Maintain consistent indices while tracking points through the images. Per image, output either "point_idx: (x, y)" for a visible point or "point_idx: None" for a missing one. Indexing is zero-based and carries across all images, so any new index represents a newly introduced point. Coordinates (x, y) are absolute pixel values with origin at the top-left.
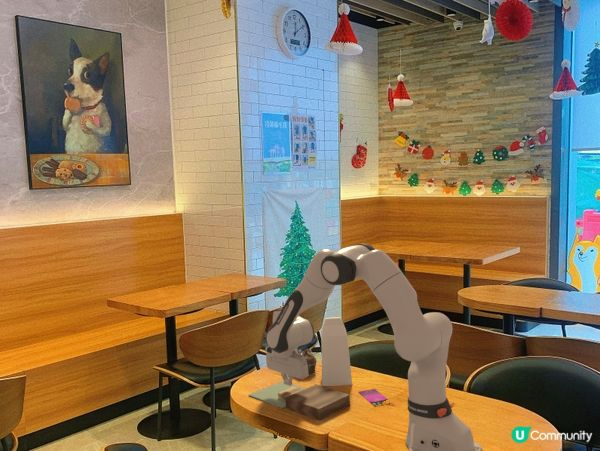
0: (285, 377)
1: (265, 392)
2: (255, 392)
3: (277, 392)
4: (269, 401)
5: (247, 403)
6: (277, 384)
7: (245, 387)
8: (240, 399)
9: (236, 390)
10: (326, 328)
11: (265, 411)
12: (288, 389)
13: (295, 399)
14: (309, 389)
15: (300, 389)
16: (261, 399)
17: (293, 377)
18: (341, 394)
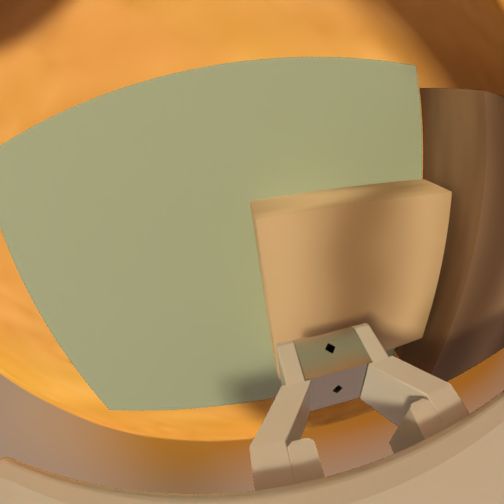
0: (302, 424)
1: (121, 359)
2: (95, 385)
3: (166, 311)
4: (274, 393)
5: (200, 433)
6: (15, 226)
7: (6, 358)
8: (138, 430)
9: (32, 393)
10: None
11: (337, 413)
12: (284, 296)
13: (475, 359)
14: (499, 222)
15: (381, 209)
16: (213, 405)
17: (435, 378)
18: None
